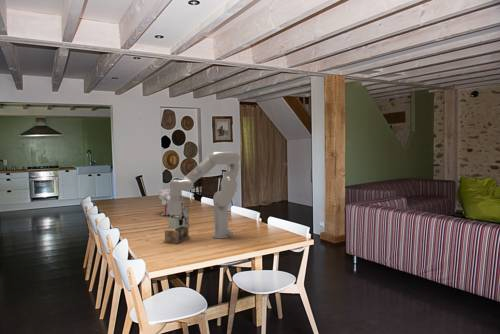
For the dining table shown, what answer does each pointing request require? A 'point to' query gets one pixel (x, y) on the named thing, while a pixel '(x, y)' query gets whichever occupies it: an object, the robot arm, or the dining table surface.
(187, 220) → the coffee box
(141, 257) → the dining table surface
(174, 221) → the grey green block
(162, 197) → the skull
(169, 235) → the peg stand
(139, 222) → the dining table surface
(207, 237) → the dining table surface
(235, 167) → the robot arm
